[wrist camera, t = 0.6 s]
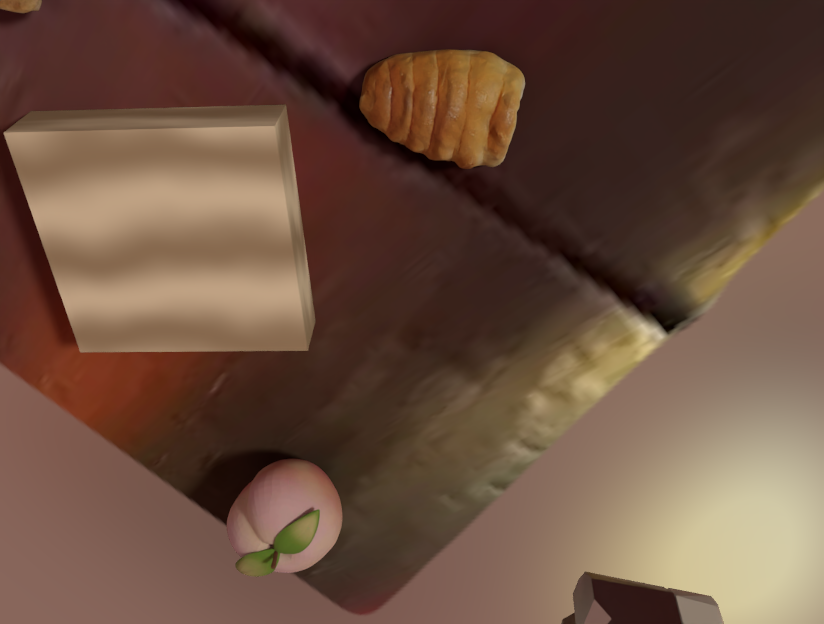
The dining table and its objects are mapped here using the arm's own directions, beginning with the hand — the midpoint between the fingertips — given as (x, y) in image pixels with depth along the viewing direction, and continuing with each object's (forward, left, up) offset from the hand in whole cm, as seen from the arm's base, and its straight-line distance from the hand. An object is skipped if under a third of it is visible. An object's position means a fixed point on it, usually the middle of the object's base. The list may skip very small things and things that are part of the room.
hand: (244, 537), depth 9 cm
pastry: (+8, +2, -40) cm, 41 cm away
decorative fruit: (+39, -11, -40) cm, 57 cm away
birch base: (+16, -16, -40) cm, 46 cm away
